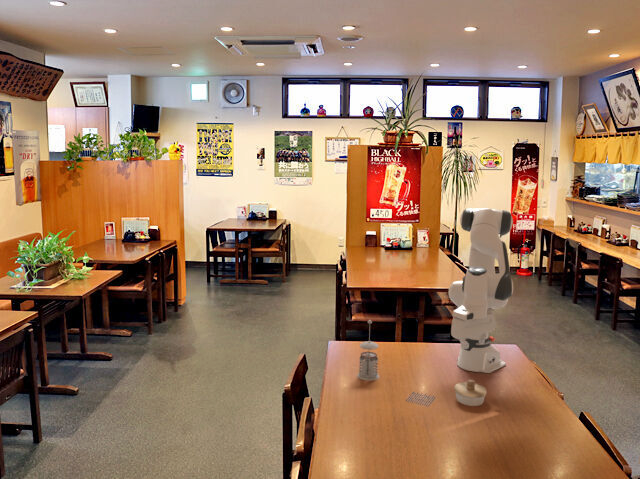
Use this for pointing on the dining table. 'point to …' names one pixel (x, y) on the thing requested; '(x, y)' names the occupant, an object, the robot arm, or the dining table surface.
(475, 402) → the ramekin
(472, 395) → the drop lid
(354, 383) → the dining table surface
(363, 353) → the french press
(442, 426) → the dining table surface
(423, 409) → the dining table surface
